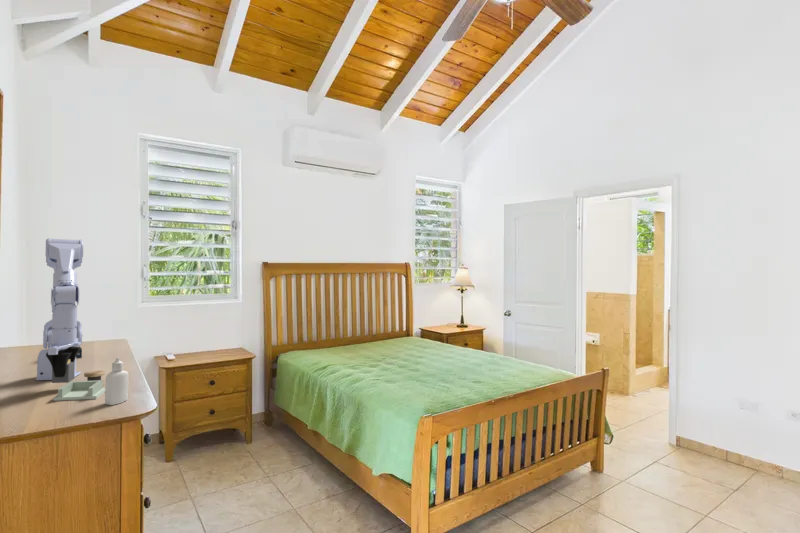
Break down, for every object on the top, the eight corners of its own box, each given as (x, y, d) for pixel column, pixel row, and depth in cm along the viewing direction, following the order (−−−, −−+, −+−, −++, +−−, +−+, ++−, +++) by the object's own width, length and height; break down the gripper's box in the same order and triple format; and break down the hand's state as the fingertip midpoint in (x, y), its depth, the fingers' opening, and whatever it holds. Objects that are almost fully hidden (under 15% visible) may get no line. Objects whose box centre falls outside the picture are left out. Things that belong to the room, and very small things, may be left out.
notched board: (53, 400, 120) (53, 389, 120) (66, 392, 128) (66, 381, 128) (96, 398, 123) (96, 387, 123) (106, 390, 131) (107, 380, 131)
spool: (80, 388, 132) (81, 375, 132) (87, 384, 137) (88, 370, 136) (100, 388, 133) (100, 374, 133) (106, 383, 138) (106, 370, 138)
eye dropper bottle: (102, 402, 120) (103, 357, 120) (125, 398, 125) (127, 354, 124) (106, 406, 117) (107, 360, 117) (130, 402, 122) (132, 357, 121)
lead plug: (51, 383, 128) (52, 361, 128) (58, 379, 132) (58, 358, 132) (68, 382, 129) (68, 361, 129) (74, 378, 133) (74, 358, 133)
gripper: (69, 331, 124) (68, 380, 125) (90, 323, 138) (89, 368, 139) (39, 331, 123) (38, 381, 123) (63, 323, 136) (62, 368, 137)
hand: (63, 374), depth 131 cm, fingers closed on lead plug, 4 cm apart
